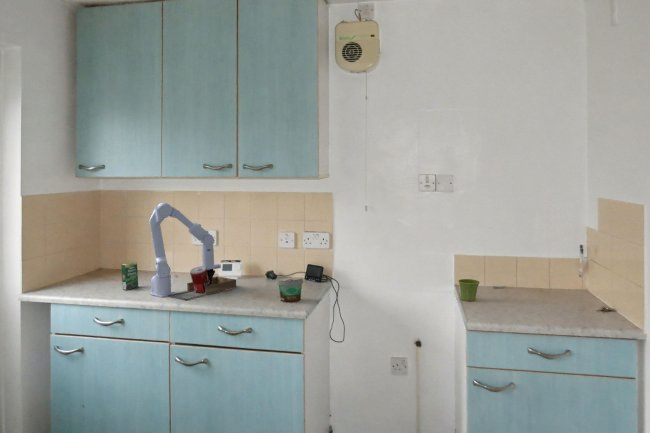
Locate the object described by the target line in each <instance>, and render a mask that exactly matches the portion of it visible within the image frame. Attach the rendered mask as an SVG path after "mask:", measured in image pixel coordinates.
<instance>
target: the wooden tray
mask: <svg viewBox="0 0 650 433" xmlns="http://www.w3.org/2000/svg"><path fill="white" fill-rule="evenodd" d="M186 285H187V290H186V291H190V292H191V291H195V289H194V286H193V282H192V281H191V282H187V284H186ZM235 288H237V279H233V278H231V277H230V278H229V277H224V276H223V277H222V276H219V275H218V276H217V275H216V276H213V278H212V282H211V285H210V286H206V287H205V292H204V294H206V296H210V295H212V294H216V293H220V292H221V293H222V292H224V291H227V290H231V289H235Z"/></svg>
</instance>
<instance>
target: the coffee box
mask: <svg viewBox="0 0 650 433" xmlns="http://www.w3.org/2000/svg"><path fill="white" fill-rule="evenodd" d="M138 275H139V274H138V262H136V261H132V262H128V263H124V264H123V263H122V264H121V279H122V281H121V284H122V290H123V291H129V290H132V289H135V288H139V276H138Z"/></svg>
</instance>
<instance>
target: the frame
mask: <svg viewBox="0 0 650 433" xmlns="http://www.w3.org/2000/svg"><path fill="white" fill-rule="evenodd" d="M190 292H191V291H187V290H184V291H180V292H175V294H172V295H168V296H167V297H169V298H173V299H177V300H180V301H185V302H186V301H190V300H194V299H197V298H202V297H205V296H207V295H206V294H205V293H201V294H199V295H195V296H192V297H191V296H190V297H188V298H186V297H182V296H180V295H182V294H186V293H190ZM178 295H179V296H178Z"/></svg>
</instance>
